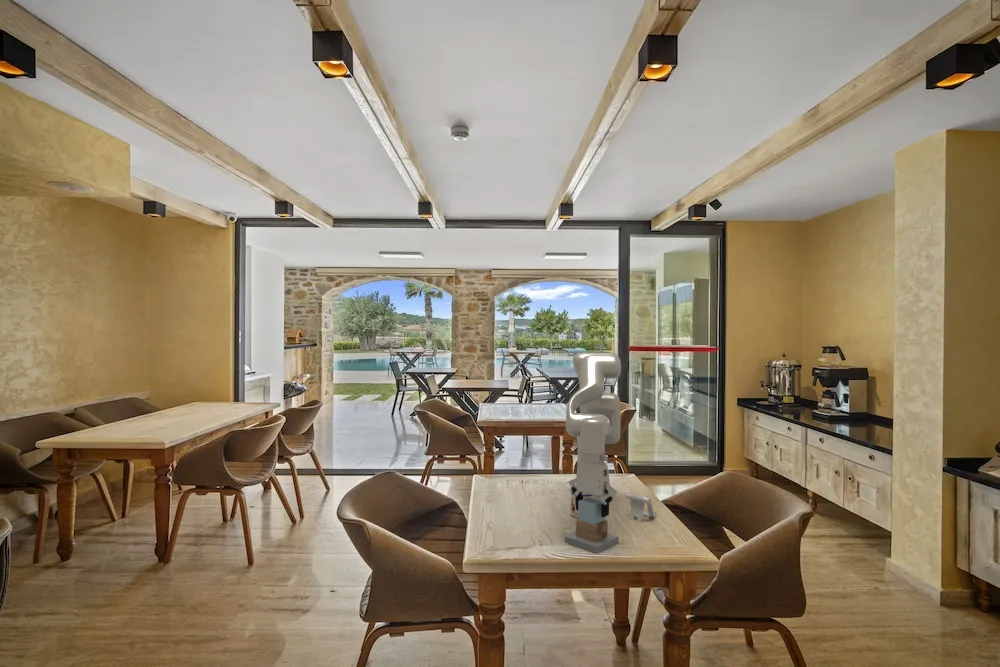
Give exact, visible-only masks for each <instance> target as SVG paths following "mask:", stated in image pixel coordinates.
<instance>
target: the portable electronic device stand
mask: <svg viewBox="0 0 1000 667" xmlns="http://www.w3.org/2000/svg"><path fill="white" fill-rule="evenodd" d="M625 499H626V500H629V503H630V511H629V518H628V519H629V520H633V519H634V517H636V518H637V522H640V523H642V521H643V517H648V518H651V519H656V518H657V516H658V514H657V511H654V508H653V504H652V500H651V497H648V496H647V497H646V496H642V495H638V494H635V493H629V492H627V493H626V494H625ZM645 506H646V507H647V511H645ZM633 521H634V520H633Z"/></svg>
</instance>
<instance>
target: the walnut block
mask: <svg viewBox="0 0 1000 667" xmlns="http://www.w3.org/2000/svg"><path fill="white" fill-rule="evenodd" d="M575 531H576V536H577V537H580V538H583V539H586V540H589V541H592V542H597V541H599V540H601V539H603V538H605V537H607V533H608V519H605V521H602V522H600V523H598V524H596V525H593V524H589V523H586V522H583V521H579V520H578V519H576V520H575Z"/></svg>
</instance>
